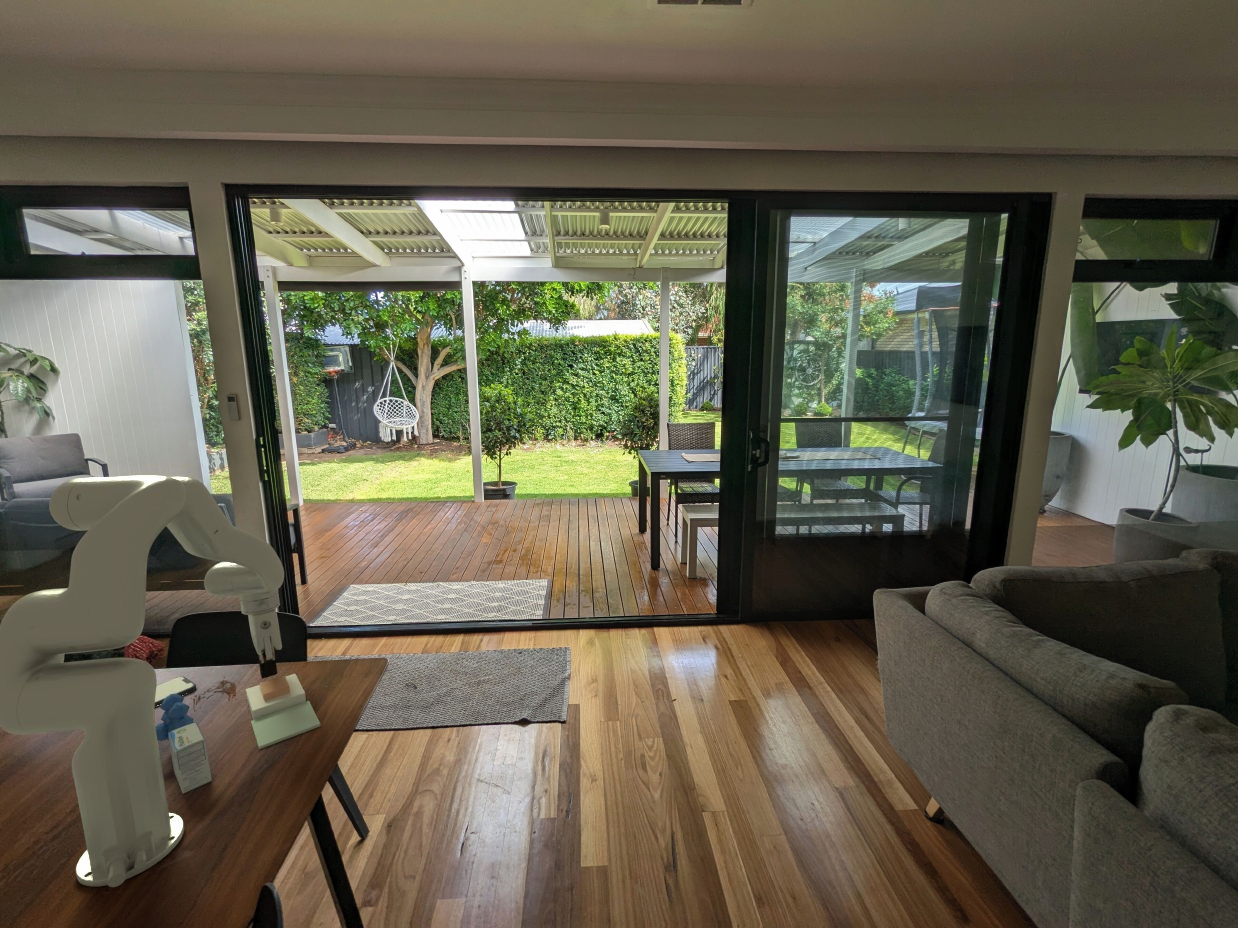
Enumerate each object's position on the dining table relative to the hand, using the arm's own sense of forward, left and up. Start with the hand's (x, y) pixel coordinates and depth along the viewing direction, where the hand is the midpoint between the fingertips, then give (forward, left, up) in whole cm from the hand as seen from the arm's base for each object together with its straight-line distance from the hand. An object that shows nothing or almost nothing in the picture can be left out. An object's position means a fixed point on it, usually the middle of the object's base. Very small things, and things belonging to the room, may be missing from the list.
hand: (269, 674), depth 129 cm
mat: (-19, 0, -3) cm, 20 cm away
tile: (-8, 0, -1) cm, 8 cm away
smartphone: (+12, +22, -4) cm, 26 cm away
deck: (-8, 0, -3) cm, 8 cm away
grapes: (-16, +18, -3) cm, 24 cm away
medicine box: (-26, +16, -3) cm, 31 cm away
